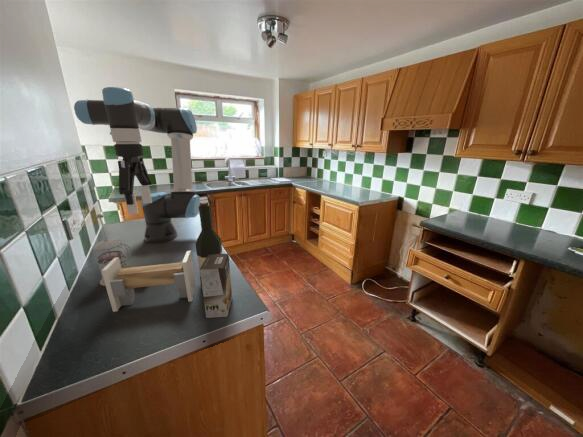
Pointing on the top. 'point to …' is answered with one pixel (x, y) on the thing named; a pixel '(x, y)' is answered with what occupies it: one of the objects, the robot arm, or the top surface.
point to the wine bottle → (206, 237)
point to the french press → (111, 254)
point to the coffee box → (216, 285)
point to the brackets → (127, 296)
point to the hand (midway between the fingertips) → (141, 208)
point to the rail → (149, 275)
